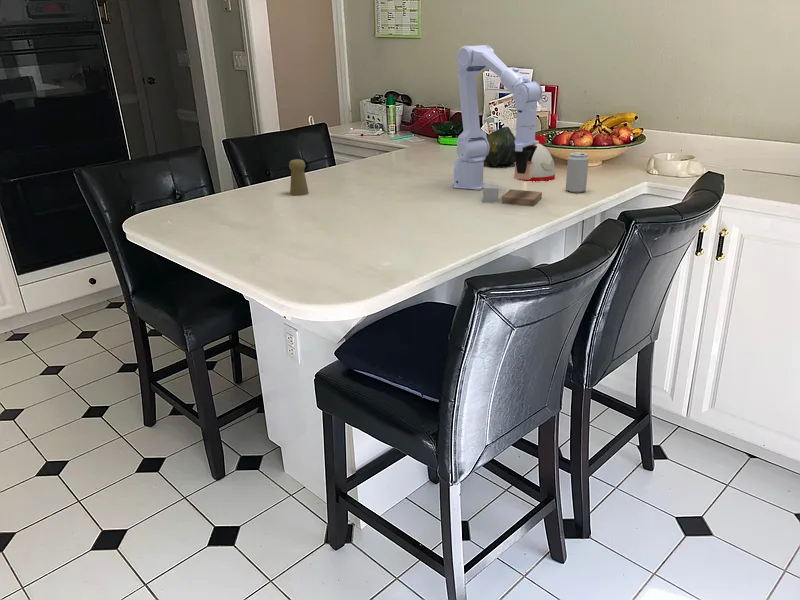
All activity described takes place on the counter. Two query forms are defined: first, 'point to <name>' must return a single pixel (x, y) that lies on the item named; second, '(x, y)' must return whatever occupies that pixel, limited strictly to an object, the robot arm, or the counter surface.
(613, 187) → the counter surface
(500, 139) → the squash
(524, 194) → the walnut plinth
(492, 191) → the grey cube
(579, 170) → the beverage can
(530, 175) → the terracotta cube
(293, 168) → the cork
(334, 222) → the counter surface
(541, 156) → the kitchen timer
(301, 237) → the counter surface
